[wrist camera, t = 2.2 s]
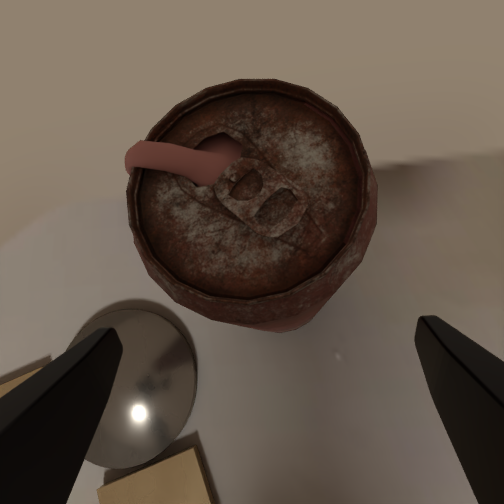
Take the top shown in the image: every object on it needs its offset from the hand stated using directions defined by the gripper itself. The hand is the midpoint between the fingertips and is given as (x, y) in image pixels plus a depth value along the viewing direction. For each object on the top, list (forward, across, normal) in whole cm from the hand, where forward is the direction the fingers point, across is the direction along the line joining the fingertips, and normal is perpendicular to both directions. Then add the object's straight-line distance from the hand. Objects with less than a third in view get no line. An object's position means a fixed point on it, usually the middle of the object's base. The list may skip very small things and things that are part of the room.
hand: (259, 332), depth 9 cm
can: (+10, 0, +5) cm, 11 cm away
